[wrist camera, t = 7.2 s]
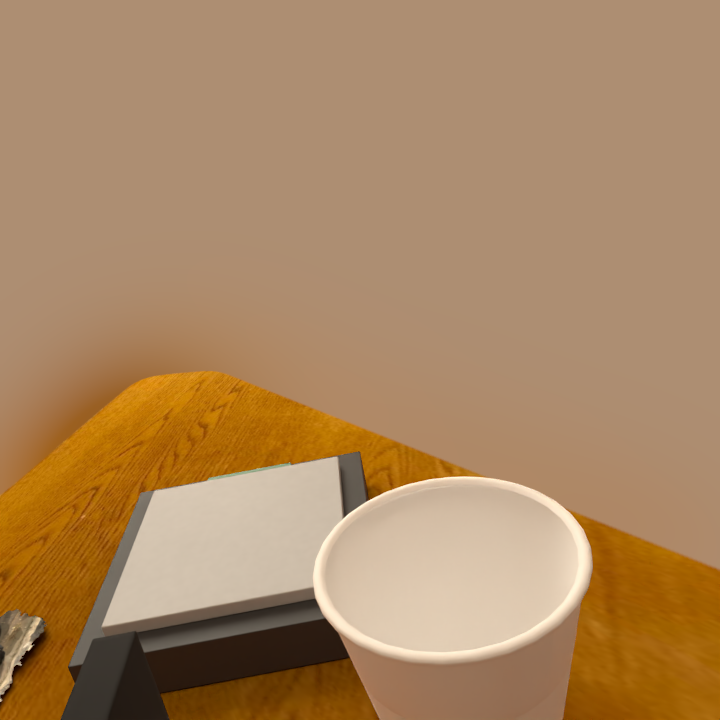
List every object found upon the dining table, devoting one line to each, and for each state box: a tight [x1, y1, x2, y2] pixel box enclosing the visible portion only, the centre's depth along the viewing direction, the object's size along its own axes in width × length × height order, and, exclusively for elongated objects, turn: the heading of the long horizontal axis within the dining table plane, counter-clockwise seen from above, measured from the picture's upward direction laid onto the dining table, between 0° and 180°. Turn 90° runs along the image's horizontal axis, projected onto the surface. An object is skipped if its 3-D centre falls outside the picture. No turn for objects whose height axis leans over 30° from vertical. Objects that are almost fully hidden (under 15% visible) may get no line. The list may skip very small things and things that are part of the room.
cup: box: [313, 477, 593, 720], centre depth 26 cm, size 10×10×11 cm
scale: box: [68, 452, 369, 693], centre depth 42 cm, size 16×16×4 cm
